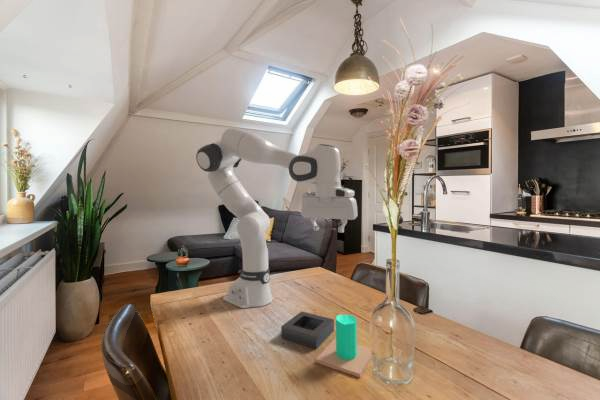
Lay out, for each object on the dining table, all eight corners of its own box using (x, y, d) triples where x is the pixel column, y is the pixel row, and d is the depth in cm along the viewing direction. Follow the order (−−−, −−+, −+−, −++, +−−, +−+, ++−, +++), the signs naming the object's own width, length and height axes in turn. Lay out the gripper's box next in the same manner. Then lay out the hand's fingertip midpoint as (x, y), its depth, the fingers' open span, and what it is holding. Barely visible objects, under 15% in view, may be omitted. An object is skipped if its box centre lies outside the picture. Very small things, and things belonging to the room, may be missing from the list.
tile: (316, 362, 82) (315, 359, 82) (334, 341, 93) (334, 338, 93) (360, 377, 75) (360, 373, 75) (374, 352, 87) (374, 349, 87)
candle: (331, 353, 85) (331, 313, 84) (344, 345, 89) (344, 307, 88) (348, 362, 80) (348, 320, 80) (360, 353, 84) (360, 313, 84)
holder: (281, 338, 96) (281, 326, 95) (301, 322, 107) (301, 311, 106) (316, 349, 89) (316, 336, 89) (334, 330, 100) (333, 319, 100)
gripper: (297, 191, 103) (298, 230, 103) (352, 191, 92) (352, 234, 93) (306, 191, 108) (306, 228, 109) (359, 191, 98) (359, 232, 98)
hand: (328, 231), depth 101 cm, fingers open, 8 cm apart
